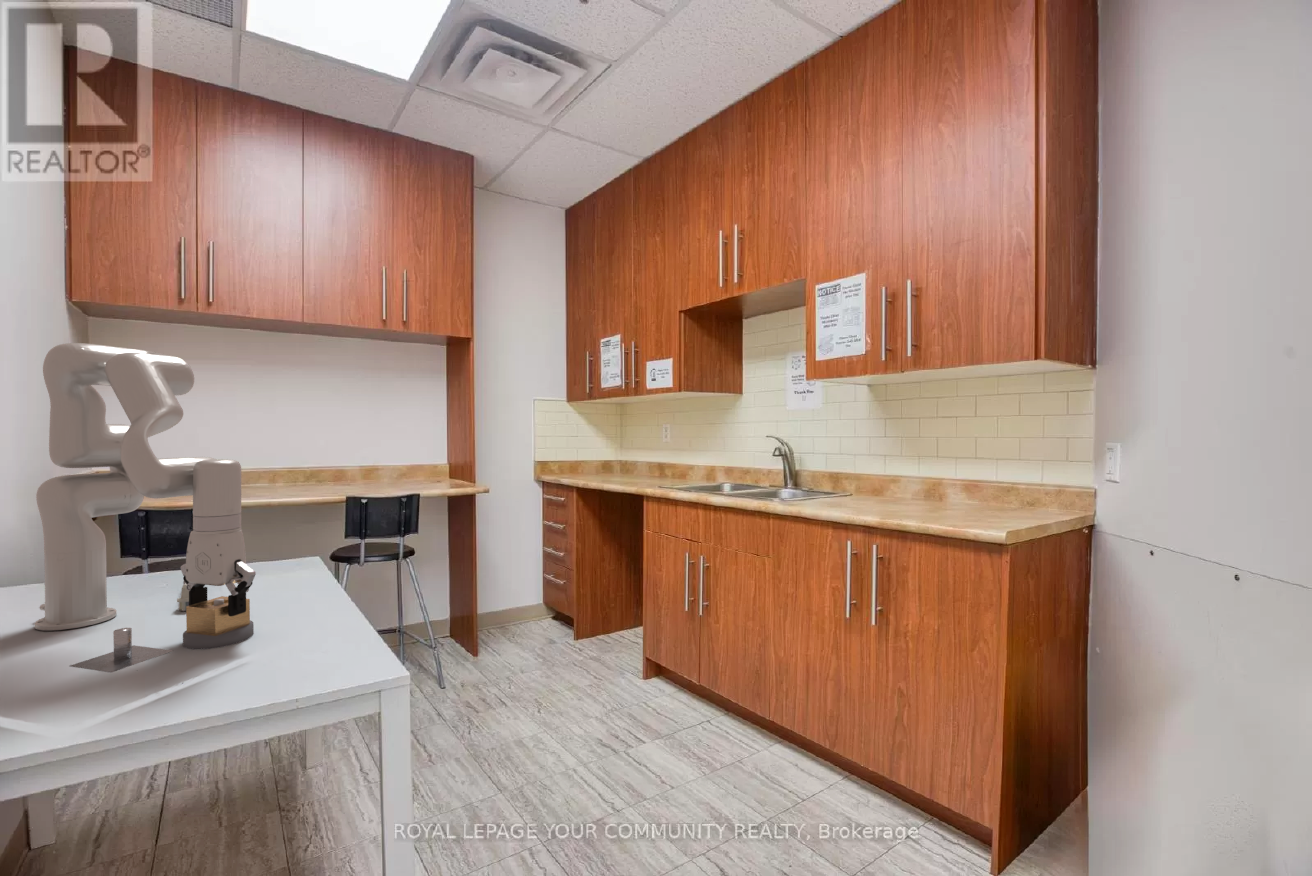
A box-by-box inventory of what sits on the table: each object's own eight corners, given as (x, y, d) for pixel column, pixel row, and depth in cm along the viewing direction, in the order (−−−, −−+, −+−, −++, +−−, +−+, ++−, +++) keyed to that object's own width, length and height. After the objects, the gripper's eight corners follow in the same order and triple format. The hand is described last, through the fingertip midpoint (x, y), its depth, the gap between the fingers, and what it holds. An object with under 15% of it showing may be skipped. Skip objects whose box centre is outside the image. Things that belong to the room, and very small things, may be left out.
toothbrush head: (207, 572, 157) (205, 578, 137) (207, 598, 156) (205, 608, 136) (181, 575, 154) (176, 582, 134) (182, 601, 153) (176, 612, 133)
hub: (168, 651, 111) (167, 605, 111) (224, 631, 122) (224, 590, 122) (213, 657, 108) (212, 610, 108) (267, 636, 119) (266, 594, 119)
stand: (68, 671, 102) (68, 636, 102) (133, 650, 111) (133, 618, 111) (111, 678, 99) (110, 642, 99) (173, 656, 109) (173, 623, 109)
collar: (186, 632, 113) (186, 606, 112) (222, 621, 119) (221, 596, 119) (215, 636, 111) (215, 609, 111) (249, 624, 118) (249, 598, 117)
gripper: (163, 524, 113) (163, 613, 114) (234, 529, 109) (234, 622, 109) (202, 518, 121) (202, 602, 121) (270, 523, 116) (270, 610, 116)
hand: (217, 611), depth 115 cm, fingers open, 9 cm apart
